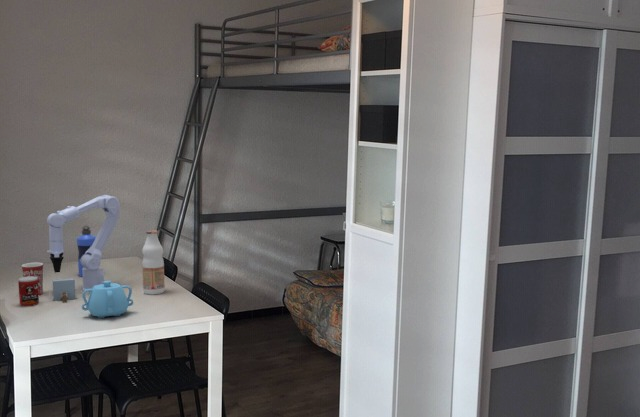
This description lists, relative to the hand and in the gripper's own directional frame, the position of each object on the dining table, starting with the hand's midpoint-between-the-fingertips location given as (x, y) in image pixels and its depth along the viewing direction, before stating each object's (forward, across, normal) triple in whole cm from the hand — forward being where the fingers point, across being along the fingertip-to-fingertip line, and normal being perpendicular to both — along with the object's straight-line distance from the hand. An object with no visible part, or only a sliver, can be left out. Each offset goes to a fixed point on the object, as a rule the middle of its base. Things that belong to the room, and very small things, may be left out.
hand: (57, 270), depth 323 cm
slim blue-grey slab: (+10, +12, +3) cm, 16 cm away
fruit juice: (+10, +14, +40) cm, 44 cm away
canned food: (+11, +15, -12) cm, 22 cm away
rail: (+10, +12, +2) cm, 16 cm away
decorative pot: (+11, +44, +18) cm, 49 cm away
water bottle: (+10, -33, +14) cm, 38 cm away
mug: (+11, -4, -10) cm, 15 cm away
